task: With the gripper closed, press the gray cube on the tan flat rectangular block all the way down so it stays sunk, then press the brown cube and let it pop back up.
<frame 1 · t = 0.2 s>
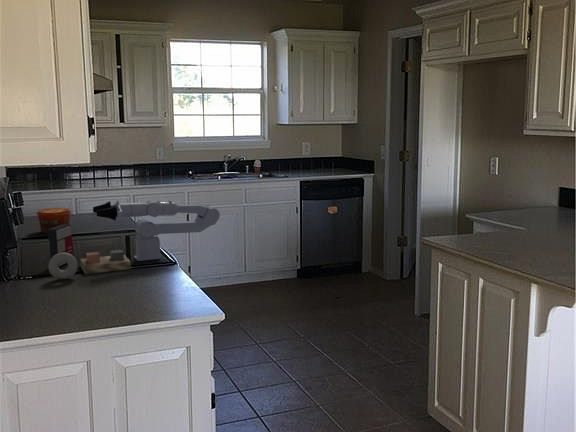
hand: (94, 211, 239), 21 cm above the table, tool horizontal, fingers open, 7 cm apart
food container: (55, 232, 302), on the table
brown cube: (93, 258, 234), point 4 cm above the table, slide at 0.0 cm
gray cube: (116, 256, 238), point 4 cm above the table, slide at 0.0 cm
grey and red box: (62, 264, 242), on the table
tan flat rectangular block: (105, 267, 237), on the table
donut: (64, 279, 221), on the table
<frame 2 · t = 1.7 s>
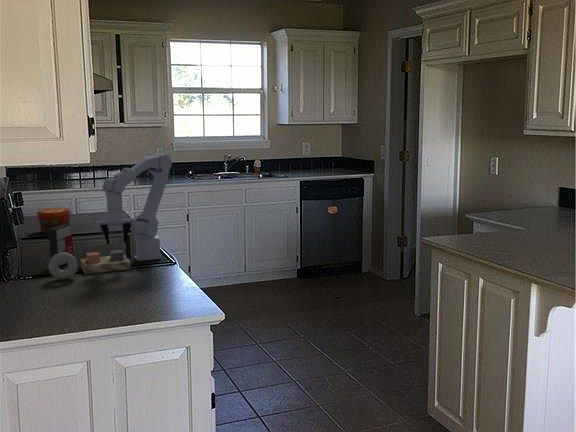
hand: (116, 243, 237), 9 cm above the table, tool pointing down, fingers open, 6 cm apart
nothing on the table moved.
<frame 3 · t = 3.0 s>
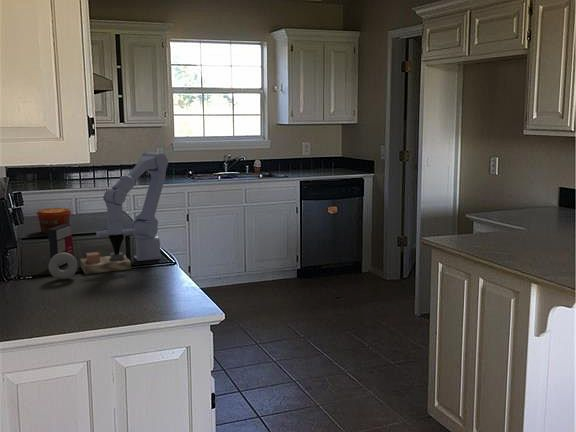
hand: (116, 253, 238), 5 cm above the table, tool pointing down, fingers closed, pressing on gray cube
gray cube: (117, 258, 238), point 3 cm above the table, slide at 0.9 cm, touching gripper
everything else where it was.
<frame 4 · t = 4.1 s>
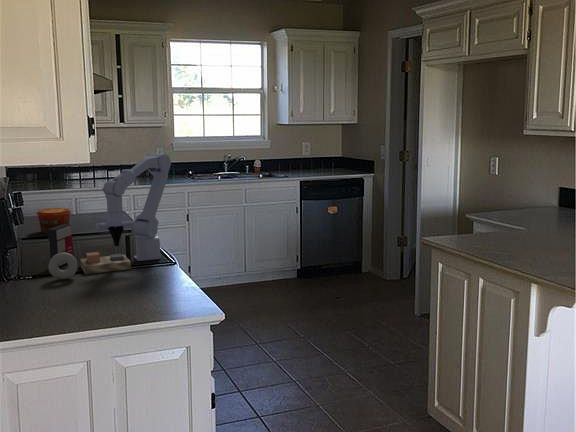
hand: (116, 245, 237), 8 cm above the table, tool pointing down, fingers closed
gray cube: (117, 260, 238), point 2 cm above the table, slide at 1.6 cm
everything else where it was.
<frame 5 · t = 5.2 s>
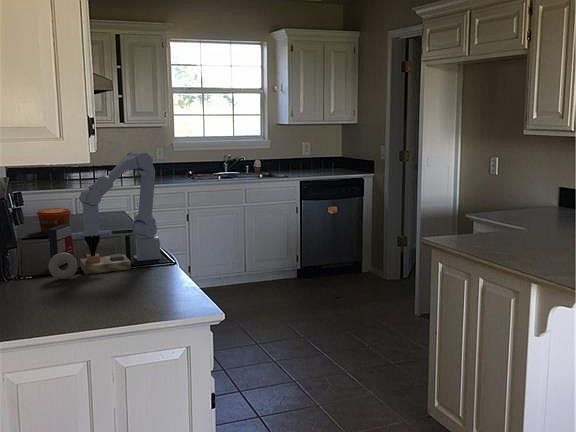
hand: (92, 255, 234), 5 cm above the table, tool pointing down, fingers closed, pressing on brown cube
brown cube: (93, 260, 234), point 3 cm above the table, slide at 0.6 cm, touching gripper
everything else where it was.
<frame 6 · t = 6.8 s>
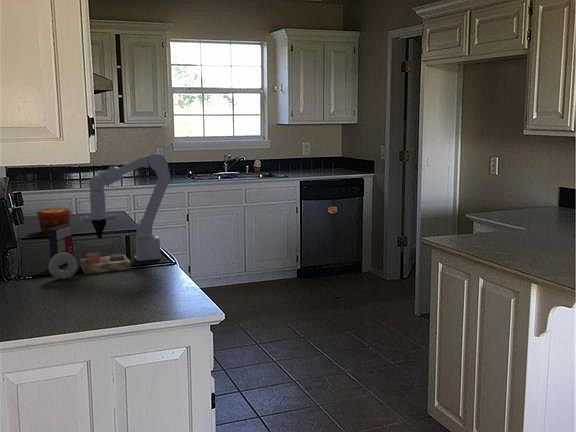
hand: (99, 238, 246), 9 cm above the table, tool pointing down, fingers closed
brown cube: (93, 259, 234), point 4 cm above the table, slide at 0.1 cm
everything else where it was.
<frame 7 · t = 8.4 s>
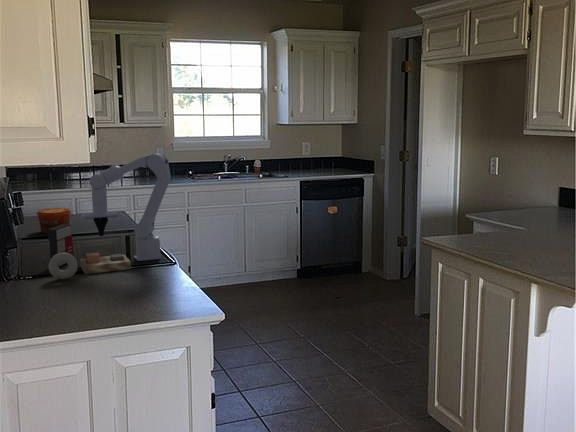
hand: (101, 235, 250), 9 cm above the table, tool pointing down, fingers closed
nothing on the table moved.
at the end: gray cube slide at 1.6 cm; brown cube slide at 0.1 cm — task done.
